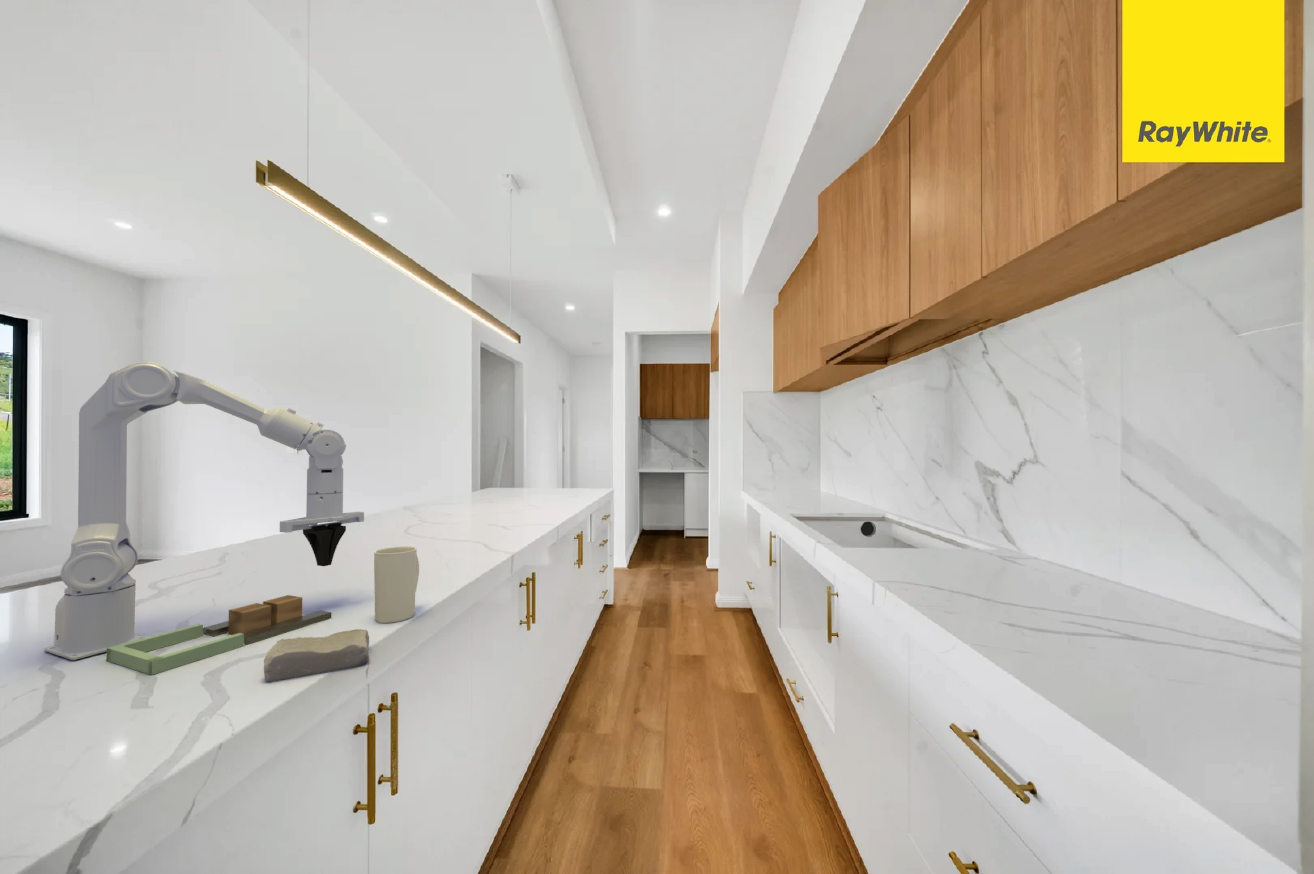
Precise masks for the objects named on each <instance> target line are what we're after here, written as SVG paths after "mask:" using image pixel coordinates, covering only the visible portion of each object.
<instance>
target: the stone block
mask: <svg viewBox="0 0 1314 874" xmlns="http://www.w3.org/2000/svg"><path fill="white" fill-rule="evenodd" d="M369 646H370V635H369V632H368V630H367V629H362V628H361V629H357V628H356V629H352V630H344V631H337V632H334V633H333V634H330V635H328V636H321V637H319V636H318V637H311V636H310V637H305V636H304V637H300V636H299V637H295V638H294V637H293V638H281V639H280V640H277V641H276V643H275V644H274V645H272V646H271V648H270V649H269V650H268V651H267V652H266V654H265V657H264V660H263V663H264V664H263V675H264V677H263V679H264V681H265V683H268V684H269V683H277V682H281V681H288V680H291V679H293V680H294V679H297V678H298V679H299V678H303V677H304V678H305V677H309V676H310V677H311V676H315V675H321V674H325V673H331V672H335V671H336V672H337V671H344V670H348V669H349V670H350V669H353V668H355V667H359V666H362V665H365V664H367V662H368V661H369V659H370V657H369Z"/></svg>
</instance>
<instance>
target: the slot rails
mask: <svg viewBox="0 0 1314 874" xmlns="http://www.w3.org/2000/svg"><path fill="white" fill-rule="evenodd" d="M329 619H332V611H327V610H322V609H319V610H316V611H313V612H310V613H307V614H302V616H299V617H296V618H292V619H289V620H286V621H282V622H279V623H275V624H272V625H269V626H265V627H262V628H259V629H255V630H252V631H249V632H245V633H242V634H244V645H250V644H254V643H256V642H260V641H262V640H266V639H269V638H272V637H275V636H279V635H283V634H284V633H288V632H291V631H294V630H298V629H300V628H303V627H306V626H309V625H314V624H316V623H318V622H323V621H326V620H329ZM226 633H227V634H228V620H226V621H223V622H219V623H215V624H211V625H207V626H203V635H206V636H209V637H210V636H211V637H216V636H219V635H223V634H226ZM278 634H279V635H278Z"/></svg>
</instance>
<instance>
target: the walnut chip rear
mask: <svg viewBox="0 0 1314 874" xmlns="http://www.w3.org/2000/svg"><path fill="white" fill-rule="evenodd" d="M262 604H264V605H270V606H271V625H272V624H275V623H279V622H282V621H286V620H289V619H292V618H296V617H299V616H302V615H303V597H302V596H296V595H289V594H287V595H282V596H279V597H275V598H272V599H268V600H264V601H263V602H262Z"/></svg>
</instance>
